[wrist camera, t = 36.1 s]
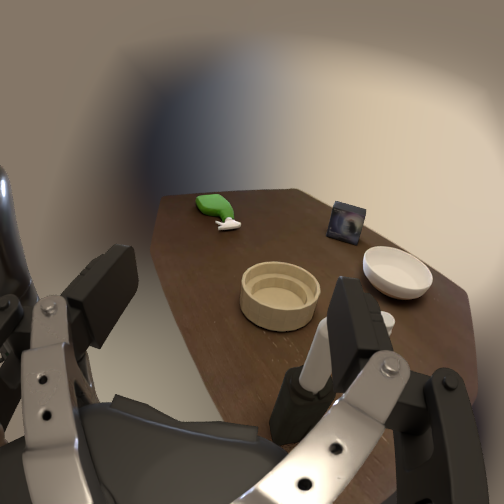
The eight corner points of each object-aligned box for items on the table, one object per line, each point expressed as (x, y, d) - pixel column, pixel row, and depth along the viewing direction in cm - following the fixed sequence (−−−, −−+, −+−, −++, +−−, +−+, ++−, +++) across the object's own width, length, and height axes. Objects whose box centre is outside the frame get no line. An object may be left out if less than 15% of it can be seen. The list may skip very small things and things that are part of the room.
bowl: (368, 257, 79) (374, 239, 76) (426, 282, 70) (434, 264, 67) (347, 288, 65) (354, 266, 62) (418, 320, 56) (429, 300, 53)
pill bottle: (354, 354, 47) (370, 322, 43) (359, 338, 51) (374, 306, 47) (376, 363, 46) (395, 331, 41) (380, 346, 49) (397, 314, 45)
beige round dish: (234, 327, 52) (236, 303, 49) (245, 279, 65) (247, 257, 62) (315, 337, 51) (323, 314, 48) (311, 288, 64) (316, 266, 61)
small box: (325, 237, 88) (332, 206, 82) (328, 229, 93) (334, 200, 88) (357, 246, 84) (365, 215, 79) (358, 237, 90) (366, 208, 84)
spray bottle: (221, 200, 106) (248, 230, 87) (193, 203, 101) (214, 234, 83) (221, 193, 104) (249, 221, 86) (193, 195, 100) (214, 225, 81)
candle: (273, 446, 32) (327, 322, 19) (267, 416, 36) (307, 279, 23) (309, 441, 33) (385, 317, 20) (301, 412, 37) (360, 278, 24)
